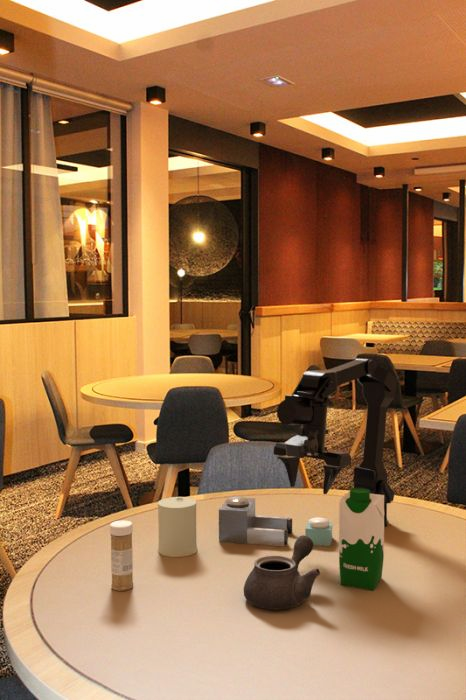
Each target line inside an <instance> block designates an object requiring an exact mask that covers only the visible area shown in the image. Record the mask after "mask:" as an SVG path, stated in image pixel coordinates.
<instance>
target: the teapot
mask: <svg viewBox="0 0 466 700" xmlns="http://www.w3.org/2000/svg"><path fill="white" fill-rule="evenodd" d="M313 549H314V545H313V541H312V540H311V539H310V538H309V537H307V536H305V535H300V536H298V537H297V538H296V540H295V542H294V545H293V550H292V551H293V552H292V557H291V558H290V557H287V556H283V555H266V556H262V557H259V558H257V559H256V560H255V561H254V563H253V564H254V566H253V569H252V570H251V571H250V572H249V574H248V576H247V578H246V580H245V581H244V585H243V596H244V598H245V600H247V601H246V602H248V603H250V604H252V605H253V606H256V607H259V608H263V609H267V610H285V609H290V608H293V607H296V606H298V605H300V604H301V603H304V601H305V600H307V599H309V598H310V596H311V594H312V589H313V586H314V585H313V584H314V582H315V580H316V578H317V577H319V576H320V575H321V574H322V573H321V570H320V569H318V568H313V569H311V570H309V571H308V572H306V573H305V574H300V572H299V565H300V563H301V562H302V560H304V559H305V558H306V557H308V556H309V555H310V554H311V553H312V551H313Z"/></svg>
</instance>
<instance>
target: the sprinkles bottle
mask: <svg viewBox="0 0 466 700" xmlns="http://www.w3.org/2000/svg"><path fill="white" fill-rule="evenodd" d="M133 531H134V529H133V523H132V522H131V521H130V520H116V521H113V522H111V523H110V525H109V534H110V542H111V543H110V545H111V546H110V567H111V568H110V569H111V570H110V571H111V588H112V589H113V590H114V591H120V592H121V591H123V592H124V591H128V590H130V589H132V588H133V587H134V582H133V581H134V580H133V578H134V577H133V572H134V568H133V567H134V566H133V565H134V564H133V563H134V560H133V559H134V558H133V557H134V555H133V553H134V551H133Z"/></svg>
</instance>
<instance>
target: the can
mask: <svg viewBox="0 0 466 700" xmlns="http://www.w3.org/2000/svg"><path fill="white" fill-rule="evenodd" d="M197 504H198V503H197V500H196V499H194V498H191V497H186V496H170V497H166V498H162V499H160V500H158V502H157V512H158V514H157V515H158V519H157V520H158V547H157V551H158V553H159V554H161V555H162V556H165V557H171V558H183V557H188V556H191V555H194V554H195V553H196V552H197V551H198V546H197V541H198V540H197Z"/></svg>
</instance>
